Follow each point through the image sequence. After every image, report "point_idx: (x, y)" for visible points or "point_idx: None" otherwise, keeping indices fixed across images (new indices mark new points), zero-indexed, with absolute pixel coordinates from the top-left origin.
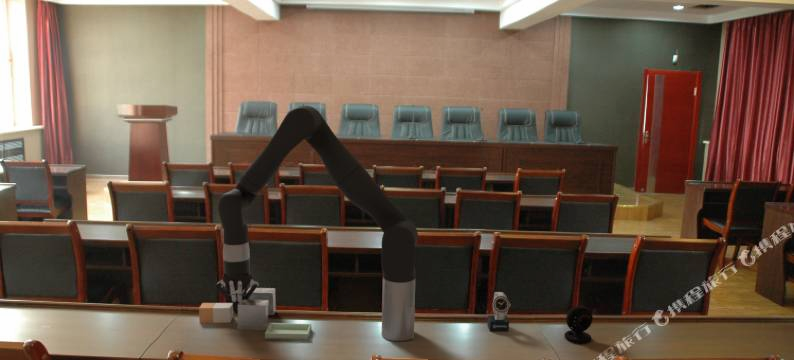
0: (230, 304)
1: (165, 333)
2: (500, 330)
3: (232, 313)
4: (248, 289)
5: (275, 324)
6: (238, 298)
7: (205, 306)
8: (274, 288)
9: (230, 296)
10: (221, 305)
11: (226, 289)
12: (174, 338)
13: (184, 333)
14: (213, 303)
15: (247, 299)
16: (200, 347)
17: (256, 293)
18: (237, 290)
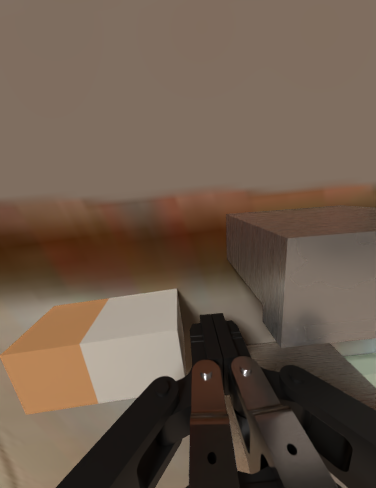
0: (171, 350)
1: (7, 435)
2: None
3: (178, 310)
4: (287, 284)
5: (367, 378)
6: (241, 424)
7: (47, 393)
8: None
9: (182, 433)
10: (127, 368)
11: (131, 481)
12: (58, 454)
13: (68, 425)
14: (68, 351)
15: (256, 292)
16: (160, 479)
17: (357, 332)
18: (229, 428)
